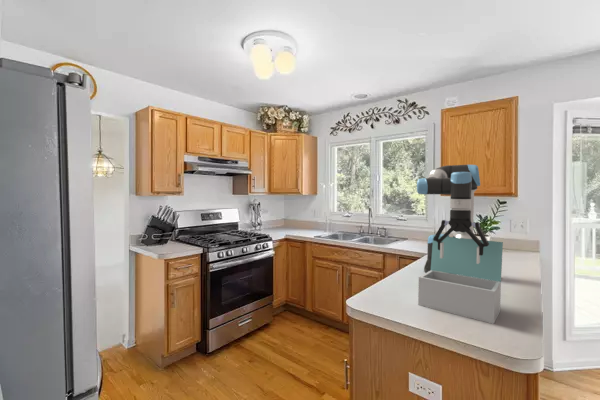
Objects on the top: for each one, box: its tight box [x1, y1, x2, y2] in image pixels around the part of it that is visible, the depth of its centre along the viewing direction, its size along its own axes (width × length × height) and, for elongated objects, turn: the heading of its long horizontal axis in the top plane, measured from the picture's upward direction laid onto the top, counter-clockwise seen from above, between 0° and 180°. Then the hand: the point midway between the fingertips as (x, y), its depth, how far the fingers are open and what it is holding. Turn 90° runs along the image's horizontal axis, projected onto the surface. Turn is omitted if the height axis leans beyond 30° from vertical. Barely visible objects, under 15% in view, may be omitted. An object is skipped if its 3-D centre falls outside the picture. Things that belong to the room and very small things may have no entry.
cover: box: [431, 236, 504, 283], centre depth 128 cm, size 16×27×2 cm
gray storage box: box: [417, 270, 502, 325], centre depth 121 cm, size 16×27×12 cm, turn 49°
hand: (459, 260), depth 121 cm, fingers open, 13 cm apart
